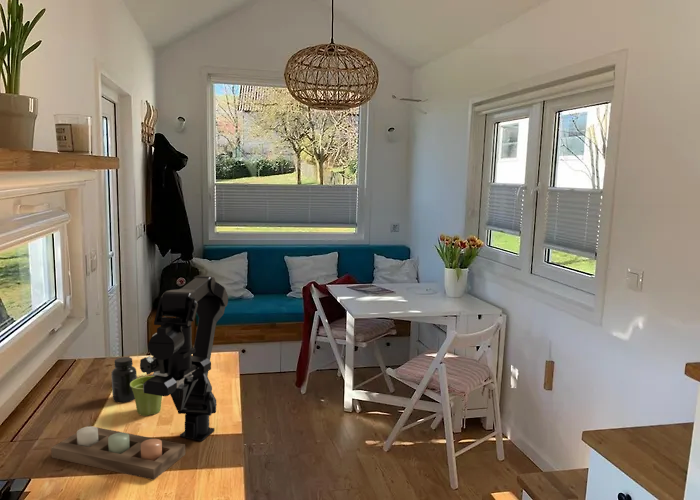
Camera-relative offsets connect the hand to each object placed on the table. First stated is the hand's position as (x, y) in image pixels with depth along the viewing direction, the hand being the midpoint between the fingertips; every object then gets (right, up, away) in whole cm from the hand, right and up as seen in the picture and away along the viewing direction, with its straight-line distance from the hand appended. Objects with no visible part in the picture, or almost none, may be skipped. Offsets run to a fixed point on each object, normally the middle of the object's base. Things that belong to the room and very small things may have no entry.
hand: (179, 410), depth 131 cm
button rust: (-6, -12, -1) cm, 13 cm away
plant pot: (-17, -8, +26) cm, 32 cm away
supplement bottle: (-27, -7, +35) cm, 44 cm away
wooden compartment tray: (-15, -11, +2) cm, 19 cm away
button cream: (-23, -10, +5) cm, 26 cm away
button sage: (-15, -11, +2) cm, 19 cm away
